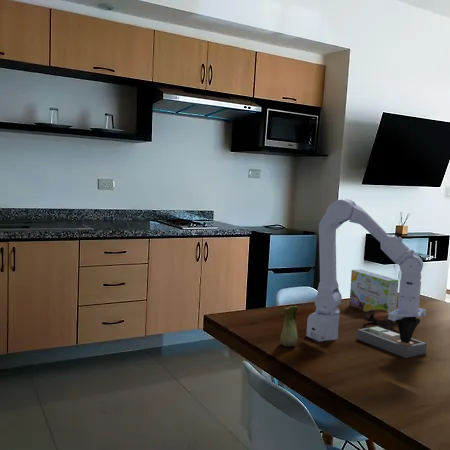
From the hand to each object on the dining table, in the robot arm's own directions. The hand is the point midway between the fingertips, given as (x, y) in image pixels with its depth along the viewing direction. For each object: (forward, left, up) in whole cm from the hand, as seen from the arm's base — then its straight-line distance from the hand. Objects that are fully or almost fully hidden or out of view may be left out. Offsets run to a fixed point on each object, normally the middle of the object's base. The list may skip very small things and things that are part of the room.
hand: (405, 342), depth 143 cm
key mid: (0, +5, -1) cm, 5 cm away
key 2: (0, 0, -2) cm, 2 cm away
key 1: (0, +10, -1) cm, 10 cm away
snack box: (+30, +38, -4) cm, 49 cm away
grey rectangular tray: (0, +5, -4) cm, 6 cm away
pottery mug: (+14, +20, -4) cm, 24 cm away
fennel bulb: (-27, +20, -4) cm, 34 cm away
